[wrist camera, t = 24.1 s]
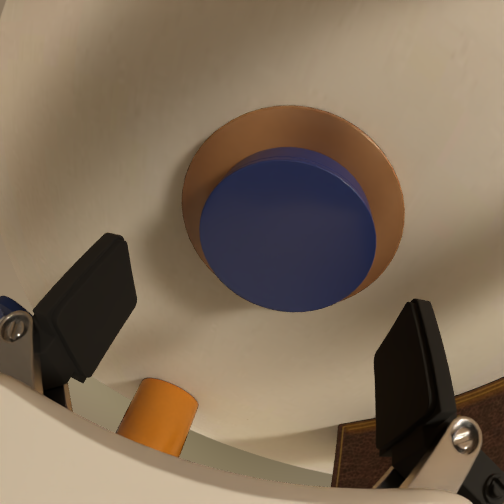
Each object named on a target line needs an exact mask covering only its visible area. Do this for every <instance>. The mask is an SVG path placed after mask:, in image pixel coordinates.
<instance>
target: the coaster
mask: <svg viewBox="0 0 504 504" xmlns="http://www.w3.org/2000/svg"><path fill="white" fill-rule="evenodd" d="M278 147H296V148H304V149H308V150H312V151H316V152H318V153H321V154H323V155H325V156H328V157H329V158H331V159H333V160H335V161H336V162H338V163H339V164H340V165H342V166H343V167H344V168H346V169H347V170H348V171H349V172H350V173H351V174H352V175H353V176H354V177H355V179H356V180H357V182H358V183H359V184H360V186H361V187H362V189H363V191H364V193H365V195H366V197H367V200H368V203H369V206H370V210H371V214H372V217H373V222H374V226H375V232H376V252H375V257H374V260H373V264H372V266H371V268H370V270H369V273H368V275H367V276H366V278H365V279H364V280H363V282H362V283H361V284H360V285H359V286H358V288H357V289H356V290H355V291H353V292H352V293H351V294H350V295H349V296H347V297H346V298H344V299H342V300H345V299H347V298H349V297H351V296H353V295H355V294H357V293H359V292H360V291H362V290H363V289H365V288H367V287H368V286H369V285H370V284H371V283H373V282H374V281H375V280H376V279H377V278H378V277H379V276H380V275H381V274H382V273H383V272H384V270H385V269H386V268H387V266H388V265H389V263H390V262H391V261H392V259H393V257H394V255H395V253H396V251H397V249H398V246H399V243H400V240H401V237H402V233H403V227H404V214H405V209H404V200H403V194H402V190H401V187H400V183H399V180H398V178H397V176H396V174H395V171H394V169H393V167H392V165H391V164H390V162H389V161H388V159H387V158H386V156H385V155H384V153H383V152H382V150H381V149H380V148H379V147H378V146H377V145H376V143H375V142H374V141H373V140H372V139H371V138H370V137H369V136H368V135H366V134H365V133H364V132H363V131H362V130H360V129H359V128H358V127H356V126H355V125H353V124H351V123H350V122H348V121H346V120H345V119H343V118H341V117H338V116H336V115H334V114H331V113H329V112H326V111H322V110H319V109H315V108H311V107H303V106H295V105H291V106H273V107H267V108H261V109H258V110H255V111H251V112H248V113H245V114H243V115H241V116H239V117H237V118H235V119H233V120H231V121H230V122H228V123H227V124H225V125H224V126H222V127H221V128H219V129H218V130H217V131H215V132H214V133H213V134H212V135H211V136H210V137H209V138H208V139H207V140H206V141H205V142H204V143H203V145H202V146H201V147H200V148H199V150H198V151H197V152H196V154H195V156H194V158H193V159H192V161H191V163H190V165H189V168H188V170H187V173H186V176H185V180H184V185H183V190H182V212H183V219H184V223H185V228H186V230H187V233H188V236H189V239H190V241H191V243H192V245H193V247H194V249H195V250H196V252H197V253H198V255H199V256H200V258H201V259H202V261H203V262H204V263H205V264H206V265H207V267H208V268H209V269H210V270H211V271H212V272H213V270H212V269H211V268H210V266H209V264H208V262H207V260H206V258H205V256H204V253H203V250H202V247H201V242H200V234H199V226H200V217H201V213H202V209H203V207H204V205H205V202H206V200H207V198H208V197H209V195H210V193H211V192H212V191H213V189H214V188H215V187H216V186H217V185H218V184H219V182H220V181H221V180H222V179H223V178H224V176H225V175H226V174H227V173H228V172H229V171H230V170H231V168H233V167H234V166H235V165H236V164H237V163H238V162H240V161H241V160H243V159H245V158H246V157H248V156H250V155H252V154H254V153H257V152H259V151H263V150H266V149H271V148H278ZM213 273H214V272H213ZM214 274H215V273H214ZM342 300H341V301H342Z"/></svg>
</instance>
